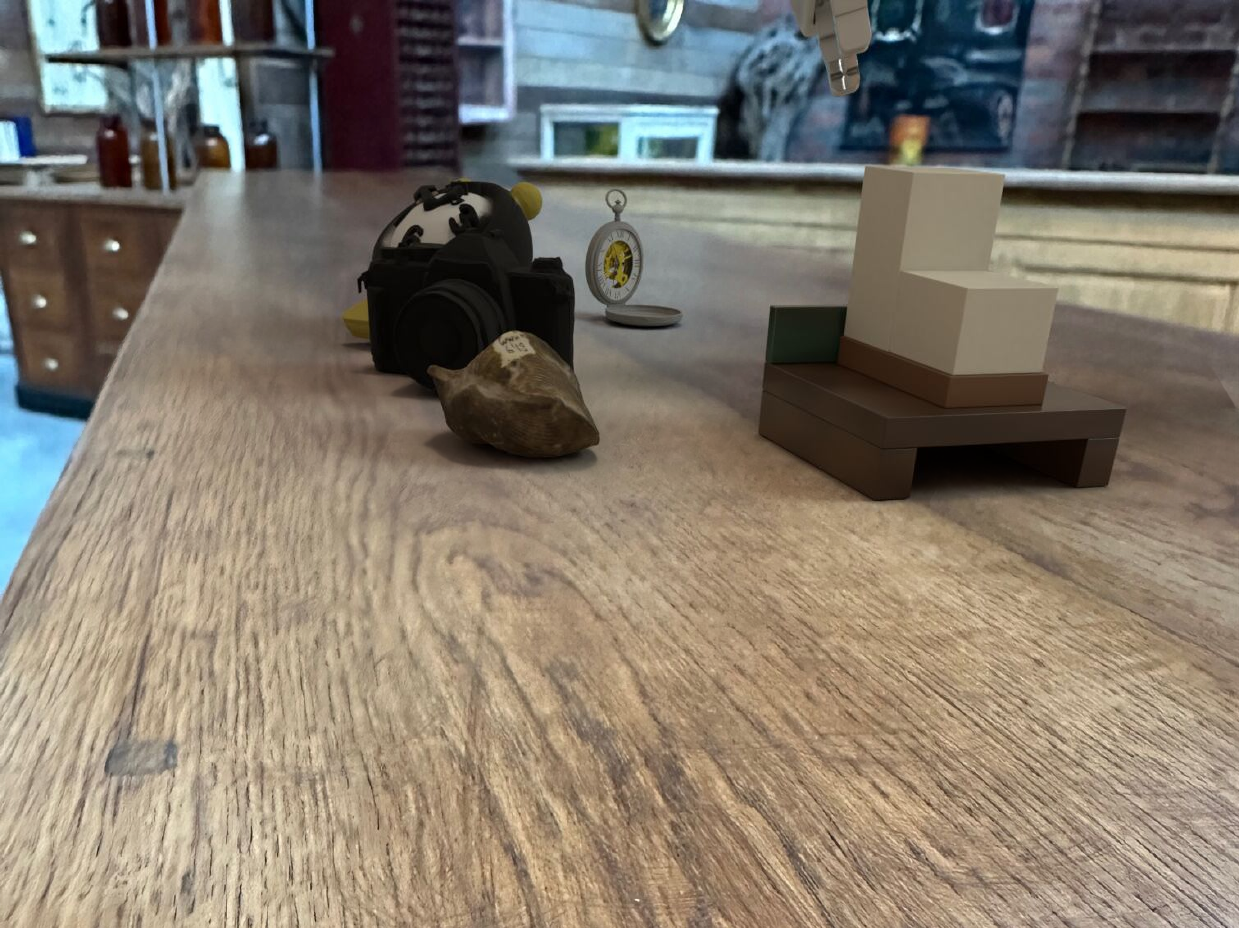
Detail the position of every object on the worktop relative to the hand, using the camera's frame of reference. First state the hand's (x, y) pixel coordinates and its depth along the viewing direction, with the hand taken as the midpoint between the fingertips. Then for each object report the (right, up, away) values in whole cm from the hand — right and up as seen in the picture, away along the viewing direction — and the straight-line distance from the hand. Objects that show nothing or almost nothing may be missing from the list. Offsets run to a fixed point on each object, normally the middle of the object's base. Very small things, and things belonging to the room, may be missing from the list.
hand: (851, 73), depth 72 cm
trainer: (+3, -21, -7) cm, 22 cm away
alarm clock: (-27, -7, +23) cm, 36 cm away
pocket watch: (-13, -1, +33) cm, 35 cm away
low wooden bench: (+3, -24, -5) cm, 25 cm away
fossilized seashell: (-19, -24, -6) cm, 32 cm away
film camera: (-24, -16, +8) cm, 30 cm away
